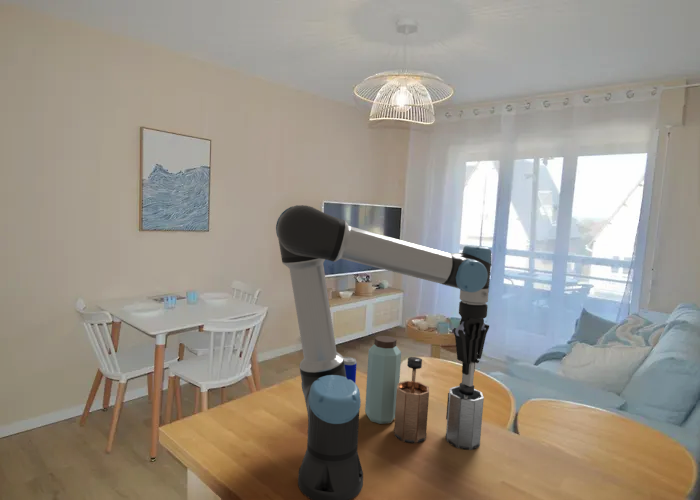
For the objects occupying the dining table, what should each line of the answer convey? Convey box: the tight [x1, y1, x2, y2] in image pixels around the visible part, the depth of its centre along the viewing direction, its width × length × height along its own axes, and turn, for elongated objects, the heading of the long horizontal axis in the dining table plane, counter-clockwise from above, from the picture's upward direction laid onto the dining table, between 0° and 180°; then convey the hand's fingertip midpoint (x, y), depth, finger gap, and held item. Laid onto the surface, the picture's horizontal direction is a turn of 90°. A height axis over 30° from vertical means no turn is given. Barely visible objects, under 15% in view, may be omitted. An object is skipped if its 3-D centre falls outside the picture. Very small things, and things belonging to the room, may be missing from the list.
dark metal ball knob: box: [458, 382, 475, 399], centre depth 116 cm, size 7×7×11 cm
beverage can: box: [343, 356, 358, 384], centre depth 136 cm, size 5×5×15 cm
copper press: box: [393, 380, 430, 444], centre depth 119 cm, size 9×10×14 cm
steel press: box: [445, 385, 485, 451], centre depth 117 cm, size 9×10×14 cm
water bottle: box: [364, 335, 402, 425], centre depth 127 cm, size 10×10×25 cm
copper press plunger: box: [403, 356, 423, 394], centre depth 118 cm, size 7×7×11 cm
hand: (467, 384), depth 116 cm, fingers closed
